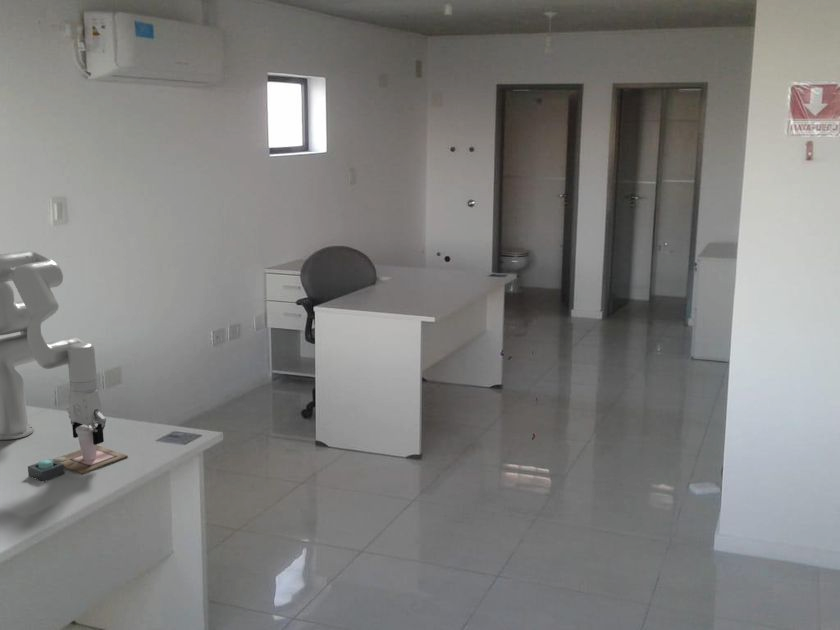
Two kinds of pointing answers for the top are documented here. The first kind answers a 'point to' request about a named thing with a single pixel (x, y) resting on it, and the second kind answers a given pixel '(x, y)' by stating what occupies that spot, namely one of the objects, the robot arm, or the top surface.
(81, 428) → the smoothie
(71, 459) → the picture board
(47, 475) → the button housing
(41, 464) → the button
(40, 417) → the top surface
